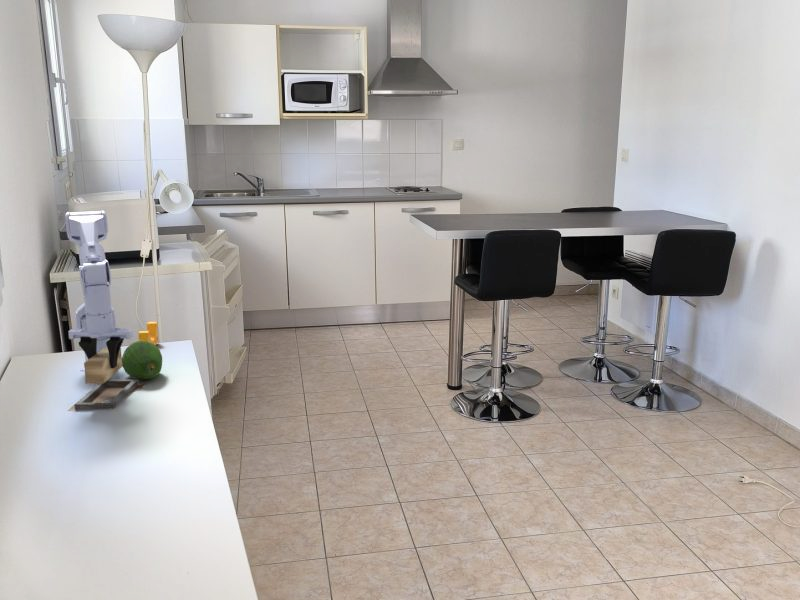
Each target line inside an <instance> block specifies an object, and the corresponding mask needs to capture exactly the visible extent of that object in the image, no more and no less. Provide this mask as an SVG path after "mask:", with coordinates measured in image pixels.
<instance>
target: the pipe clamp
mask: <svg viewBox="0 0 800 600" xmlns="http://www.w3.org/2000/svg"><path fill="white" fill-rule="evenodd" d="M137 335H138V341H148V342H150V343H153V344H154V345H155V346H156V347H157V345H158V344H159V330H158V321H148V322H147V323H146V330H140V331H139V332H138V334H137Z"/></svg>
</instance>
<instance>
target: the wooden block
mask: <svg viewBox="0 0 800 600" xmlns="http://www.w3.org/2000/svg"><path fill="white" fill-rule="evenodd" d="M122 356H123V355H122V347H121V348H120V350H119V354H118V359H117V366H116V367H115V368H111V367H110V357H109V352H108V348H103V349H102V350H101V351H99V352H98V353H97V354H95V355H94V356H93V357H91V358H90V359H89V360H87V361H85V362H84V363H83V368H85V371H84V376H85V377H84V378H85V384H98V383H101V384H103V383H104V382H106V381H107V380H108V379H110V378H112V376H114V375H115V374H116V373H117V372H118V371H119V370H121V369H122V368H123V366H122Z"/></svg>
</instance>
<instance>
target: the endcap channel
mask: <svg viewBox="0 0 800 600" xmlns="http://www.w3.org/2000/svg"><path fill="white" fill-rule="evenodd" d="M145 385H146V384H145V383H140V384H139V380H138V379H135V378H133V379H128V378H127V379H125V378H124V379H117V378H116V379H112V378H111V379H110V378H109V379H108V380H107V381H106V382H104V383H103V384H101V383H96V385H95V386H94V387H92V389H91V390H89V391H88V392H87V393H86V394H84V395H83V396H82V397H81V398H80V399H79V400H77V402H75V404H73V405H71V407H70V408H69V409H68V410H67V412H75V411H87V410H89V411H90V410H91V411H92V410H93V411H94V410H113V409H114V408H116V407H117V406H118V405H119V404H120V403H121V402H122V401H123V400H125V399H126V398H127V397H128V395H130V394H132V393H137V392H139V391H140V390H141V389H143V388H144V386H145ZM109 400H110V401H109ZM108 401H109V402H108Z"/></svg>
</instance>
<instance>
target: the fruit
mask: <svg viewBox="0 0 800 600" xmlns="http://www.w3.org/2000/svg"><path fill="white" fill-rule="evenodd" d="M121 356H122V368H123V370H124V372H125V373H126V374H127V375H128V376H129V377H130V378H133V379H138V381H142V380H143V381H144V380H150V379H153V378H155V377H157V376H158V375H159V374H160V373H161V372H162V368H163V367H162V366H163V356H162V352H161V350H160V349H159V347H158V346H157V345H156V346H155V345H154V344H153V343H150V342H148V341H139V340H138V341H135V342H132V343H130V344H129V345H128V346H127V347H126V348H125V350H124V351H123V354H122V355H121Z"/></svg>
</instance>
